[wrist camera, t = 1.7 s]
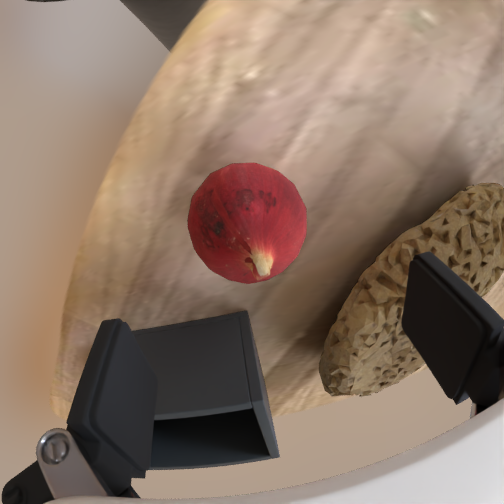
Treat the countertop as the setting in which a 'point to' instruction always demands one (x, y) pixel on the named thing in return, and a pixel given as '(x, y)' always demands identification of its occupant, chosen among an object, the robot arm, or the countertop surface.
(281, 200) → the onion
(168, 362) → the waste bin
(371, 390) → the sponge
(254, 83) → the countertop surface
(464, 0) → the countertop surface
